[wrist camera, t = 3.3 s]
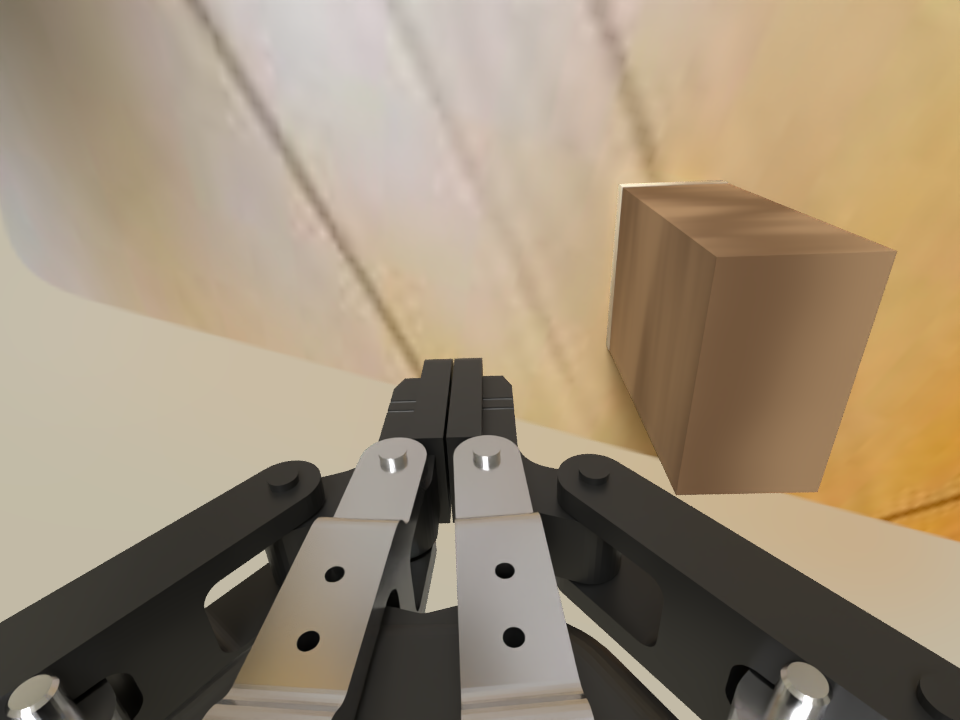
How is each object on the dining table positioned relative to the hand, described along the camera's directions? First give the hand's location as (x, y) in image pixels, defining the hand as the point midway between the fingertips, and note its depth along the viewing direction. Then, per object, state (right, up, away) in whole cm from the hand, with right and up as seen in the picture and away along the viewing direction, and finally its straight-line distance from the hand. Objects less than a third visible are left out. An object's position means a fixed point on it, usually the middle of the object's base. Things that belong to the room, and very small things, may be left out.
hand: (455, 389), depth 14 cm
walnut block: (+8, +5, +8) cm, 13 cm away
